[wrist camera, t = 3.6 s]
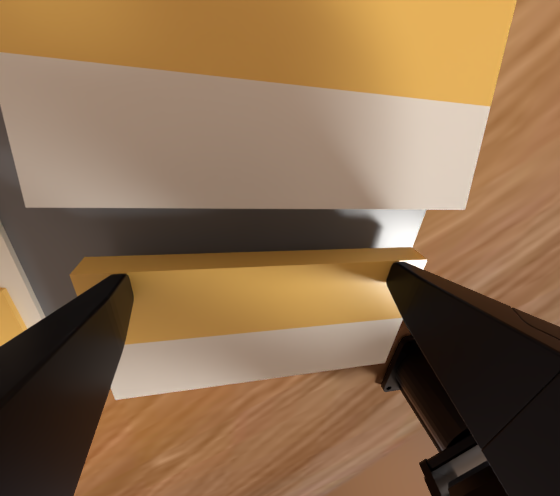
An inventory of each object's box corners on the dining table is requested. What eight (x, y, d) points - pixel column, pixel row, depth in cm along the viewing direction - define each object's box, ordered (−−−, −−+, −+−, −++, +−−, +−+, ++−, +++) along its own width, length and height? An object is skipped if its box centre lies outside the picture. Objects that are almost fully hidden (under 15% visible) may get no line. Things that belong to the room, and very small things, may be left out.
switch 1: (440, 205, 9) (465, 209, 8) (51, 201, 7) (25, 207, 6) (485, -1, 8) (522, -25, 7) (-16, -112, 5) (-69, -174, 4)
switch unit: (355, 302, 18) (385, 346, 15) (-15, 331, 13) (-87, 403, 10) (439, 11, 10) (534, -26, 7) (-315, -138, 6) (-889, -391, 3)
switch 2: (374, 346, 14) (384, 363, 13) (122, 377, 11) (115, 399, 10) (411, 247, 11) (427, 259, 10) (84, 257, 8) (69, 274, 8)
